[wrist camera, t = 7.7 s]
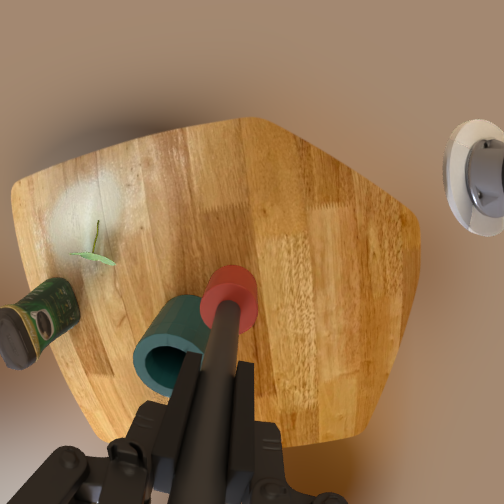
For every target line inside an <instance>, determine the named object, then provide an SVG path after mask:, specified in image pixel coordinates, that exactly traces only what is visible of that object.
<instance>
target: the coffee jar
mask: <svg viewBox="0 0 504 504" xmlns="http://www.w3.org/2000/svg"><path fill="white" fill-rule="evenodd" d="M79 320H80V311H79V307H78V303H77V300H76V297H75V294H74V292H73V289H72V287H71V285H70V284H69V282H68V281H66V280H65V279H63V278H51V279H48V280H46V281H45V282H43V283H42V284H40V285H39V286H38V287H36V288H35V289H34V290H33V291H32V292H30V293H29V294H28V295H27V296H26V297H24V298H23V299H21V300H20V301H19V302H17V303H15V304H11V305H5V306H2V307H0V354H1V356H2V358H3V360H4V362H5V363H6V366H7V367H8V368H11V369H15V370H23V369H25V368H27V367H29V366H30V365H32V364H33V363H35V362H36V361H37V360H38V359H39V357H40V355H41V353H42V351H43V350H44V348H46V347H47V346H48V345H49V344H50V343H51V342H52V341H54V340H55V339H56V338H58V337H59V336H61V335H62V334H64V333H65V332H67V331H68V330H70V329H71V328H73V327H74V326H75V325H76V324H77V323H78V322H79Z"/></svg>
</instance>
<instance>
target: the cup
mask: <svg viewBox="0 0 504 504" xmlns="http://www.w3.org/2000/svg"><path fill="white" fill-rule="evenodd" d="M201 299H202V298H200V297H198V296H194V295H181V296H177V297H174V298H173V299H171V300H170V301H168V302H167V303H166V304H165V306H164V307H163V308H162V309H161V311H160V312H159V314H158V315H157V317H156V318H155V319H154V321H153V322H152V324H151V325H150V327H149V328H148V329H147V331H146V332H145V334H144V335H143V337H142V338H141V340H140V341H139V343H138V344H137V346H136V348H135V351H134V353H133V364H134V367H135V370H136V372H137V375H138V376H139V377H140V379H141V380H142V381H143V383H144V384H146V385H147V386H148V387H149V388H150V389H152V390H153V391H155V392H157V393H159V394H161V395H163V396H166V397H171V394H172V391H173V388H174V385H175V383H176V380H177V377H178V374H179V372H180V369H181V366H182V363H183V361H184V358H185V355H186V352H187V351H191V352H196V353H201V354H202V360H201V365H202V362H203V358H204V354H205V350H206V347H207V343H208V339H209V335H210V332H211V329H210V328H209V327H208V326H207V325H206V324H205V323H204V321H203V319H202V317H201V314H200V302H201ZM200 369H201V367H200Z"/></svg>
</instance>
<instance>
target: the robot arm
mask: <svg viewBox="0 0 504 504" xmlns="http://www.w3.org/2000/svg"><path fill="white" fill-rule="evenodd" d="M496 139H497V138H494V137H487V138H482V139H480V140H478V141H477V142H475V143H474V144H473V145H472V147H471V148H470V150H469V153H468V155H467V159H466V164H465V181H466V187H467V191H468V194H469V197H470V200H471V202H472V204H473V205H474V207H475V208H476V209H477V210H478V211H479V212H480V213H481V214H482V215H484V216H487V217H492V218H499V217H503V216H504V142H502V141H499V140H496ZM201 360H202V354H201V353H196V352H191V351H187V352H186V355H185V358H184V361H183V363H182V366H181V369H180V372H179V374H178V377H177V380H176V383H175V385H174V388H173V391H172V394H171V397H170V399H169V402H168V405H164V404H160V403H156V402H153V401H149V400H147V401H146V402H145V403H144V404H142V405H141V406H140V407H139V409H138V411H137V413H136V416H135V418H134V420H133V422H132V424H131V426H130V429H129V431H128V433H127V435H126V438H119V439H115V440H114V441H112V442H110V443H109V445H108V446H107V450H108V455H109V457H105V458H103V457H102V458H101V457H90V456H85V454H84V453H83V452H81V450H80V449H78V448H75V447H73V446H62V447H59V448H57V449H56V450H55V451H54V452H53V453H52V454H51V455H50V456H49V457H48V458H47V459H46V460H45V461H44V463H43V464H42V465H41V466H40V467H39V468H38V469H37V470H36V471H35V473H34V474H33V475H32V476H31V477H30V478H29V479H28V480H27V482H26V483H25V484H24V485H23V486H22V487H21V488H20V489H19V490H18V491H17V493H16V494H15V495H14V496H13V497H12V498H11V499H10V500H9V502H8V503H7V504H151V492H152V489H153V488H154V490H156V491H160V492H164V493H168V494H170V490H171V486H172V481H173V477H174V474H175V469H176V465H177V461H178V457H179V453H180V449H181V445H182V441H183V436H184V432H185V428H186V424H187V420H188V416H189V412H190V408H191V405H192V401H193V397H194V393H195V389H196V385H197V381H198V377H199V373H200V367H201ZM226 486H227V487H226V500H225V504H241V502H242V504H348V503H347V501H346V500H345V499H344V497H342V496H340V495H339V494H336V493H332V492H328V493H327V492H326V493H322V494H319V495H318V496H317V497H315V496H310V495H307V494H303V493H300V492H297V491H295V490H294V489H292V488H291V487H290V486H289V485H288V484H287V482H286V479H285V473H284V464H283V455H282V444H281V434H280V431H279V429H278V427H277V426H276V424H275V423H271V422H261V421H254V363H250V362H244V361H238V365H237V370H236V374H235V381H234V392H233V404H232V416H231V429H230V441H229V453H228V466H227V479H226ZM97 502H98V503H97Z"/></svg>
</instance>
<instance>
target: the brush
mask: <svg viewBox="0 0 504 504" xmlns="http://www.w3.org/2000/svg"><path fill="white" fill-rule="evenodd" d="M200 314H201V317H202V319H203V321H204V323H205V324H206V325H207V326H208V327H209V328H210V329H211V332H210V335H209V339H208V343H207V347H206V350H205V354H204V358H203V362H202V365H201V369H200V373H199V377H198V381H197V385H196V389H195V393H194V397H193V401H192V405H191V408H190V412H189V416H188V420H187V424H186V428H185V432H184V436H183V441H182V445H181V449H180V453H179V457H178V461H177V465H176V469H175V474H174V477H173V481H172V486H171V490H170V494H169V499H168V503H167V504H225V500H226V487H227V486H226V479H227V466H228V453H229V441H230V429H231V416H232V404H233V392H234V381H235V372H236V360H237V348H238V337H239V334H242V333H244V332H246V331H247V330H248V329H250V328H251V327H252V325H253V324H254V323H255V321H256V319H257V315H258V298H257V284H256V281H255V278H254V277H253V275H252V274H251V273H250V272H249V271H248V270H247V269H245V268H243V267H241V266H237V265H227V266H224V267H221V268H219V269H218V270H216V271H215V272H214V273H213V275H212V276H211V278H210V280H209V283H208V285H207V287H206V290H205V292H204V294H203V297H202V299H201V302H200Z"/></svg>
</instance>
